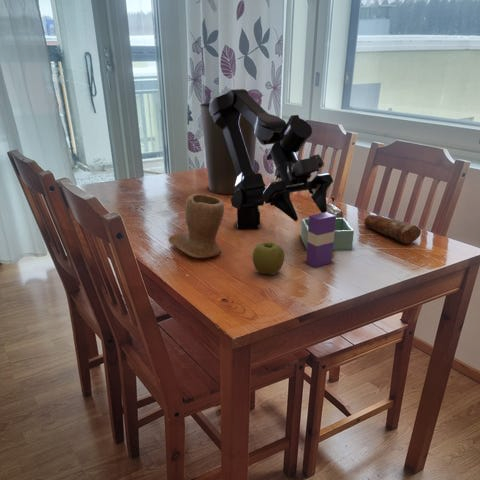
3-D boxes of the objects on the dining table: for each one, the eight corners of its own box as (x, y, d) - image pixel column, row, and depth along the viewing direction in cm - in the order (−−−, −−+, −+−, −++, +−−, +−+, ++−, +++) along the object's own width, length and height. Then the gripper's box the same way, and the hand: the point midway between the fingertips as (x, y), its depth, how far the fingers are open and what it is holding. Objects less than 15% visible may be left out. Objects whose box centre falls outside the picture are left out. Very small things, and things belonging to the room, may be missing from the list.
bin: (306, 250, 127) (308, 231, 124) (300, 236, 137) (301, 218, 134) (351, 249, 127) (353, 230, 125) (342, 235, 137) (344, 217, 134)
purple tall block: (305, 262, 120) (309, 215, 114) (322, 258, 122) (326, 211, 116) (314, 267, 117) (318, 219, 111) (331, 263, 120) (336, 215, 113)
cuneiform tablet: (334, 217, 151) (351, 229, 141) (321, 221, 151) (337, 233, 141) (331, 196, 148) (349, 206, 138) (318, 200, 147) (335, 210, 137)
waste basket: (196, 182, 191) (192, 101, 176) (243, 178, 197) (243, 100, 182) (215, 200, 169) (212, 109, 154) (267, 195, 175) (269, 106, 160)
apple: (260, 281, 110) (261, 253, 107) (246, 268, 117) (246, 241, 113) (289, 276, 113) (290, 248, 109) (274, 263, 119) (274, 237, 116)
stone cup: (233, 255, 124) (232, 199, 117) (193, 265, 119) (189, 206, 111) (205, 238, 135) (203, 186, 128) (168, 246, 130) (163, 192, 123)
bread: (403, 247, 128) (407, 228, 126) (359, 227, 143) (362, 209, 141) (421, 243, 131) (425, 224, 128) (376, 224, 146) (378, 206, 143)
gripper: (270, 147, 109) (296, 206, 106) (331, 140, 117) (358, 194, 114) (251, 175, 119) (275, 230, 116) (309, 166, 127) (333, 217, 124)
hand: (311, 217), depth 117 cm, fingers open, 9 cm apart
